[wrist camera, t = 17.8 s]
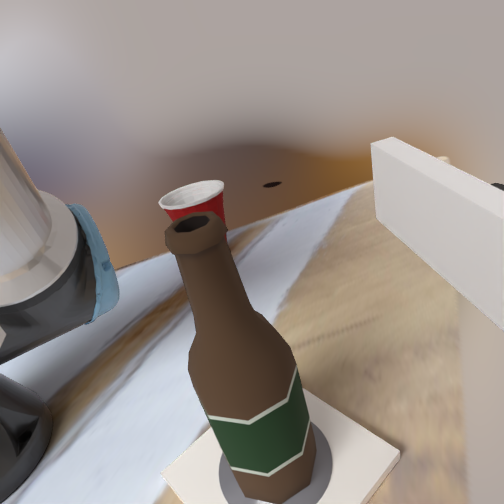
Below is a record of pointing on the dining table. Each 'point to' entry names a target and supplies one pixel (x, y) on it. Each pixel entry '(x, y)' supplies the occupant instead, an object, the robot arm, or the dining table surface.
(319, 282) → the dining table surface
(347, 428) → the tile
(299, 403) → the beer bottle
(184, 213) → the plastic cup
